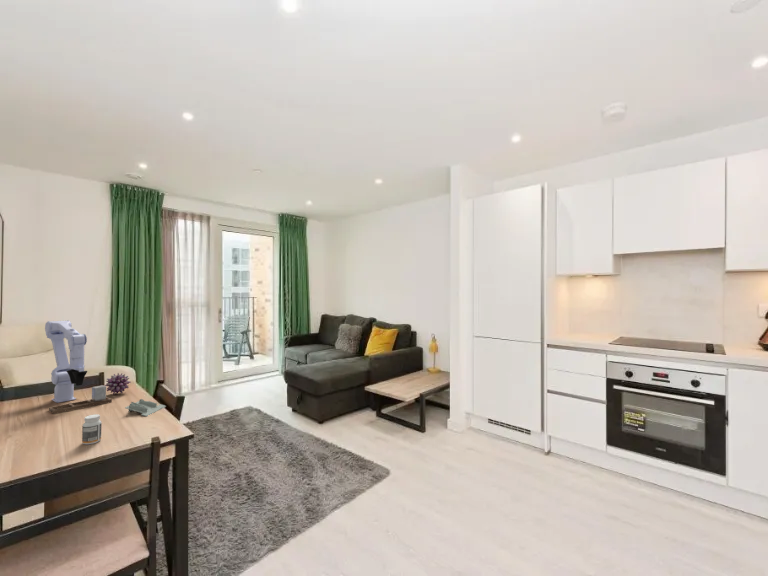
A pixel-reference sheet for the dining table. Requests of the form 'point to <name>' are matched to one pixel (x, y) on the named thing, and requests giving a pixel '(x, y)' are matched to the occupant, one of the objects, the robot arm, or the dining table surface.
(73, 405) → the rail
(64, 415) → the dining table surface
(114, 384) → the spiky ball
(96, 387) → the square peg
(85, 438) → the pill bottle
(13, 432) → the dining table surface
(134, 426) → the dining table surface
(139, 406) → the metal bracket
